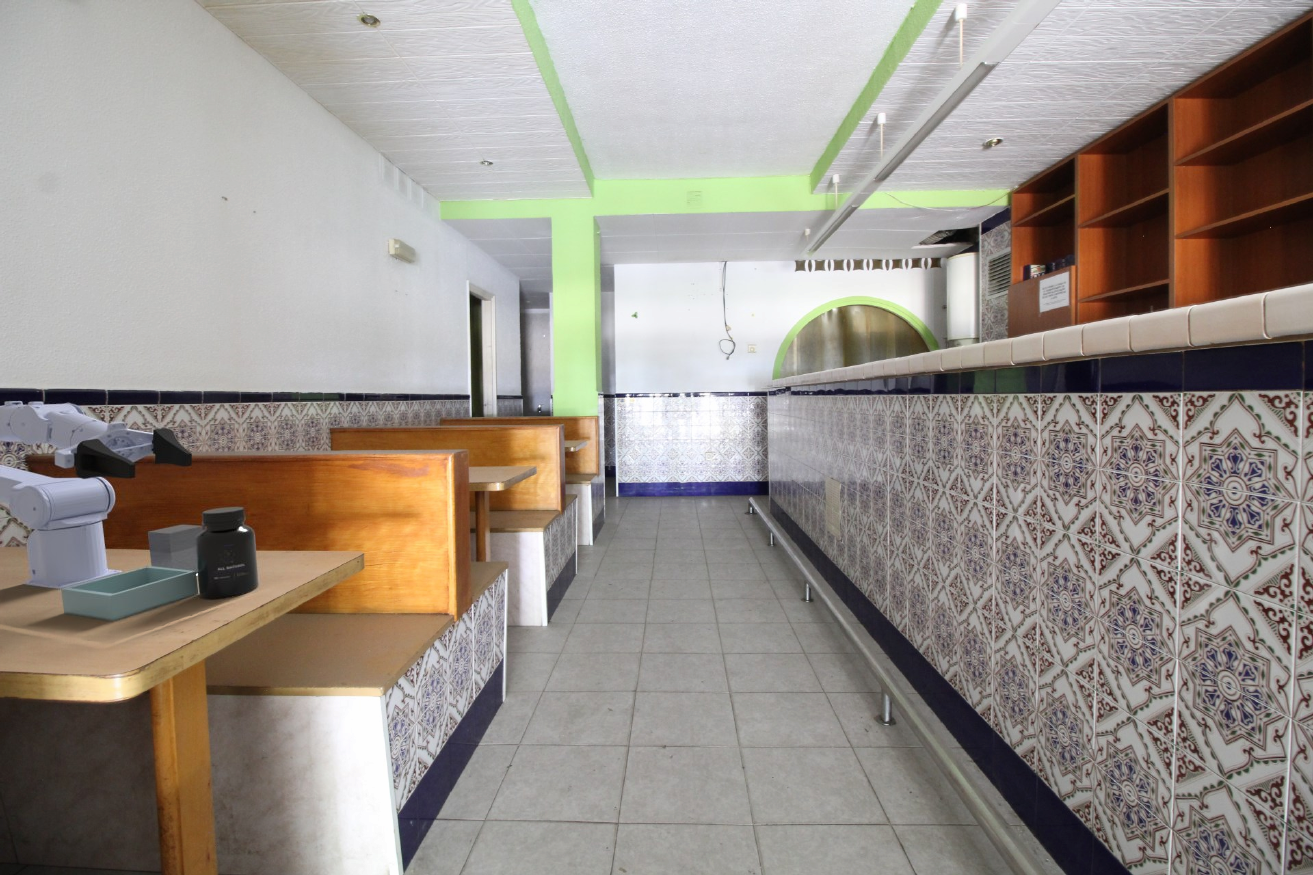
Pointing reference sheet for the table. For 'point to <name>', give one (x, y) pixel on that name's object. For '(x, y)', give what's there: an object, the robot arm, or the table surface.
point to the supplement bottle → (226, 554)
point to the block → (174, 547)
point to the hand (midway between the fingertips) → (162, 465)
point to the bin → (129, 592)
